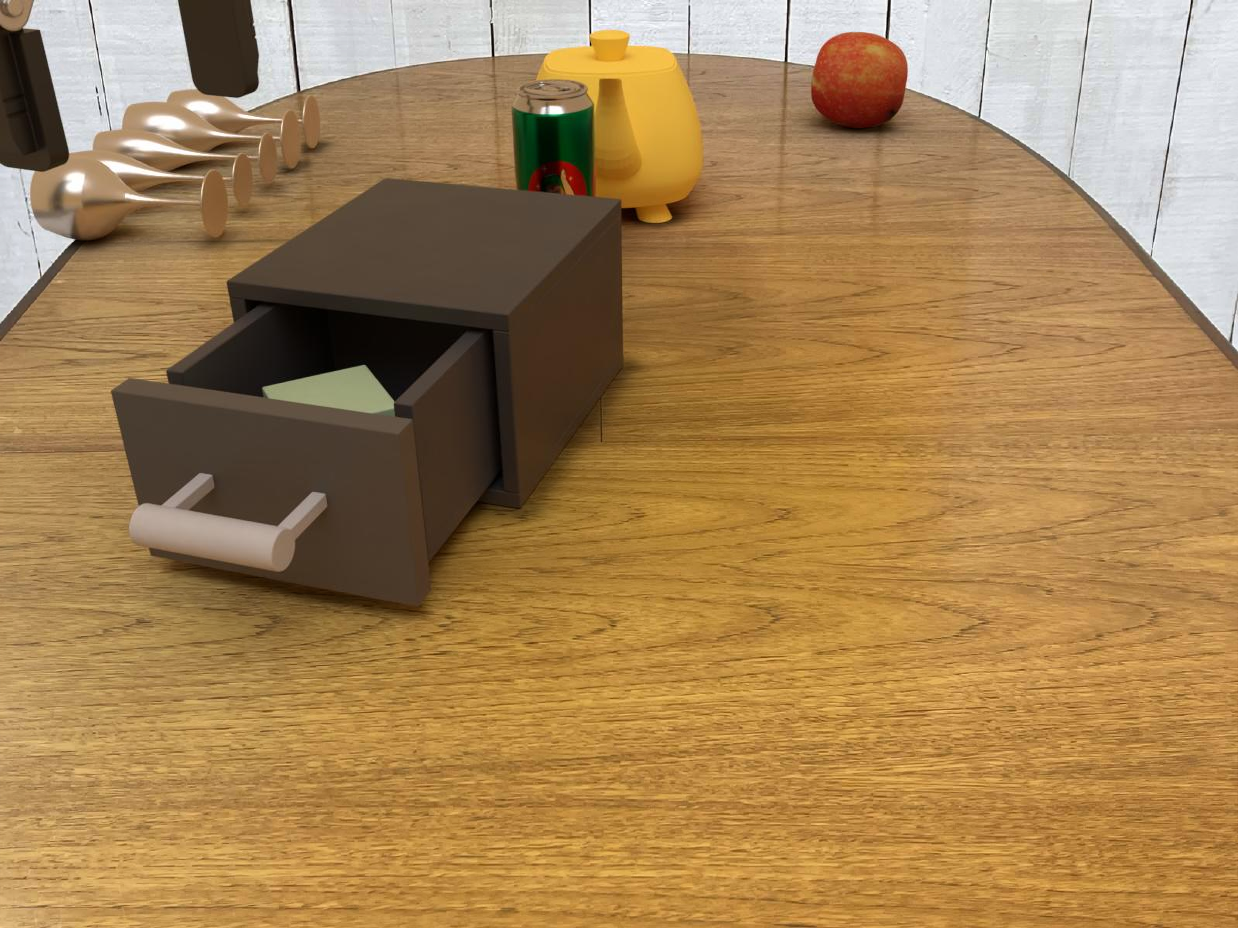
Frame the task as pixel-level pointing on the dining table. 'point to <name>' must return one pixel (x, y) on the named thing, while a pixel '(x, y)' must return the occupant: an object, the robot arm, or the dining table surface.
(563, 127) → the soda can
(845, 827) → the dining table surface
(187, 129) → the goblet set
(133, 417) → the drawer
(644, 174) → the teapot
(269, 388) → the block
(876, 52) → the apple
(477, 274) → the cabinet
